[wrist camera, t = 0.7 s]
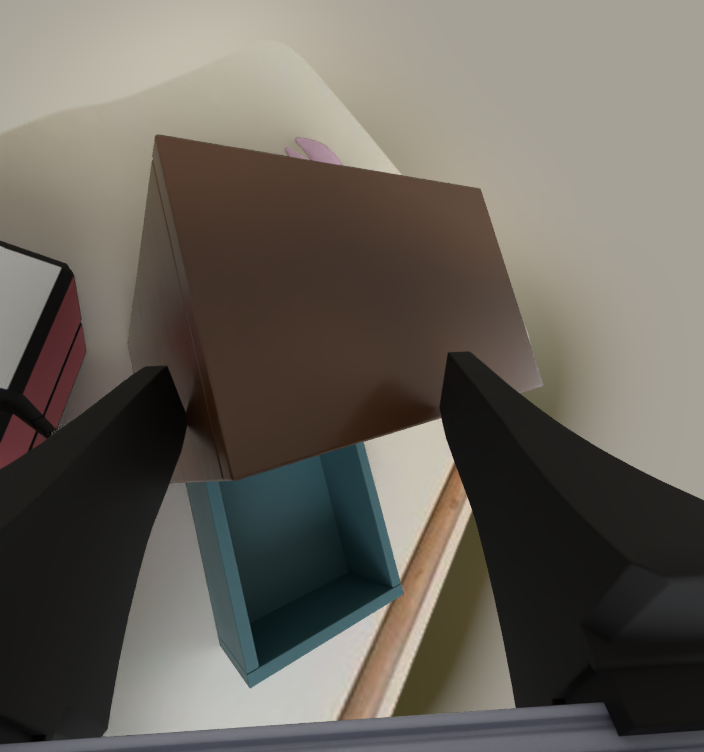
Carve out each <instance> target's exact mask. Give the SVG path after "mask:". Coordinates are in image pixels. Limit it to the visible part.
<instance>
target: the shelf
mask: <svg viewBox="0 0 704 752" xmlns="http://www.w3.org/2000/svg"><path fill="white" fill-rule="evenodd" d="M152 157H153V160H152V165H151V172H150V180H149V187H148V195H147V202H146V210H145V217H144V225H143V232H142V240H141V247H140V255H139V262H138V270H137V277H136V285H135V292H134V300H133V307H132V315H131V322H130V330H129V337H128V347H129V352H130V357H131V362H132V367H133V372H134V373H136V372H137V371H139V370H140V369H142V368H143V367H145V366H165V365H167V366H168V368H169V371H170V373H171V376H172V379H173V381H174V384H175V386H176V389H177V391H178V394H179V397H180V399H181V402H182V404H183V407H184V409H185V412H186V418H187V429H186V434H185V439H184V443H183V447H182V451H181V454H180V457H179V459H178V462H177V465H176V467H175V470H174V473H173V475H172V478H171V480H170V483H188V482H218V481H237V480H241V479H244V478H247V477H251V476H254V475H257V474H260V473H264V472H267V471H270V470H273V469H277V468H280V467H283V466H286V465H290V464H293V463H296V462H299V461H303V460H306V459H309V458H312V457H316V456H319V455H322V454H325V453H329V452H332V451H335V450H338V449H342V448H345V447H348V446H351V445H355V444H358V443H361V442H364V441H368V440H371V439H374V438H378V437H381V436H384V435H387V434H391V433H394V432H397V431H400V430H404V429H407V428H410V427H413V426H417V425H420V424H423V423H426V422H430V421H433V420H436V419H439V418H441V413H440V408H439V406H440V399H441V393H442V386H443V380H444V374H445V367H446V361H447V354H448V352H464V351H470V352H471V353H473V354H474V355H475V356H476V357H477V358H479V359H480V360H481V361H482V362H483V363H484V364H485V365H487V366H488V367H489V368H490V369H491V370H492V371H494V372H495V373H496V374H497V375H498V376H499V377H501V378H502V379H503V380H504V381H505V382H506V383H508V384H509V385H510V386H511V387H512V388H514V389H515V390H516V391H517V392H518V393H520V394H521V393H524V392H527V391H531V390H534V389H537V388H540V387H542V386H543V383H542V379H541V376H540V373H539V370H538V367H537V364H536V361H535V357H534V354H533V351H532V348H531V345H530V342H529V339H528V335H527V332H526V329H525V326H524V323H523V320H522V317H521V314H520V311H519V307H518V304H517V301H516V298H515V295H514V292H513V289H512V286H511V282H510V279H509V276H508V273H507V270H506V267H505V264H504V260H503V258H502V254H501V251H500V248H499V245H498V242H497V238H496V236H495V232H494V229H493V227H492V223H491V220H490V217H489V213H488V210H487V207H486V204H485V201H484V198H483V195H482V192H481V189H479V188H474V187H468V186H462V185H455V184H450V183H444V182H438V181H432V180H426V179H419V178H414V177H408V176H403V175H397V174H391V173H385V172H379V171H373V170H367V169H361V168H355V167H349V166H343V165H337V164H331V163H325V162H319V161H313V160H307V159H301V158H295V157H289V156H283V155H277V154H271V153H265V152H259V151H253V150H247V149H242V148H236V147H230V146H224V145H218V144H212V143H206V142H200V141H194V140H188V139H182V138H176V137H170V136H164V135H156V136H155V140H154V148H153V155H152Z"/></svg>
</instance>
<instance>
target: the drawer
mask: <svg viewBox="0 0 704 752" xmlns="http://www.w3.org/2000/svg"><path fill="white" fill-rule="evenodd" d="M186 486H187V490H188V495H189V500H190V505H191V509H192V514H193V519H194V524H195V528H196V533H197V538H198V543H199V547H200V552H201V557H202V562H203V566H204V571H205V576H206V581H207V585H208V590H209V595H210V600H211V604H212V609H213V614H214V619H215V623H216V628H217V633H218V638H219V642H220V646H221V648H222V649H223V650H224V652H225V653H226V655H227V656H228V658H229V659H230V661H231V662H232V663H233V665H234V666H235V668H236V669H237V671H238V672H239V673H240V675H241V676H242V678H243V679H244V681H245V682H246V684H247V685H248V686H249V688H252V687H253V686H255V685H256V684H258V683H260V682H261V681H263V680H265V679H266V678H268V677H269V676H271V675H273V674H274V673H276V672H278V671H279V670H281V669H282V668H284V667H286V666H287V665H289V664H291V663H292V662H294V661H295V660H297V659H299V658H300V657H302V656H304V655H305V654H307V653H308V652H310V651H312V650H313V649H315V648H317V647H318V646H320V645H321V644H323V643H325V642H326V641H328V640H330V639H331V638H333V637H334V636H336V635H338V634H339V633H341V632H343V631H344V630H346V629H347V628H349V627H351V626H352V625H354V624H356V623H357V622H359V621H360V620H362V619H364V618H365V617H367V616H369V615H370V614H372V613H373V612H375V611H377V610H378V609H380V608H382V607H383V606H385V605H387V604H388V603H390V602H391V601H393V600H395V599H396V598H398V597H400V596H401V595H403V589H402V586H401V583H400V579H399V575H398V571H397V567H396V564H395V560H394V556H393V552H392V548H391V545H390V541H389V537H388V533H387V529H386V526H385V522H384V518H383V514H382V510H381V507H380V503H379V499H378V495H377V491H376V488H375V484H374V480H373V476H372V472H371V469H370V465H369V461H368V457H367V453H366V450H365V446H364V442H361V443H358V444H355V445H351V446H348V447H345V448H342V449H338V450H335V451H332V452H329V453H325V454H322V455H319V456H316V457H312V458H309V459H306V460H303V461H299V462H296V463H293V464H290V465H286V466H283V467H280V468H277V469H273V470H270V471H267V472H264V473H260V474H257V475H254V476H251V477H247V478H244V479H241V480H237V481H218V482H188V483H186Z"/></svg>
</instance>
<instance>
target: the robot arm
mask: <svg viewBox="0 0 704 752" xmlns="http://www.w3.org/2000/svg"><path fill="white" fill-rule="evenodd" d="M439 408H440V413H441V418H442V423H443V427H444V431H445V436H446V439H447V442H448V445H449V448H450V451H451V453H452V456H453V459H454V462H455V464H456V467H457V470H458V473H459V475H460V478H461V481H462V483H463V486H464V489H465V492H466V494H467V497H468V500H469V502H470V505H471V508H472V511H473V514H474V517H475V521H476V524H477V528H478V532H479V536H480V539H481V543H482V547H483V551H484V555H485V560H486V564H487V568H488V572H489V577H490V581H491V585H492V589H493V594H494V598H495V603H496V608H497V612H498V617H499V622H500V626H501V631H502V636H503V641H504V646H505V651H506V657H507V662H508V667H509V672H510V678H511V683H512V688H513V695H514V700H515V706H516V708H513V709H499V710H485V711H471V712H456V713H442V714H429V715H428V714H427V715H413V716H400V717H385V718H370V719H356V720H342V721H327V722H313V723H299V724H285V725H270V726H256V727H242V728H228V729H213V730H199V731H185V732H171V733H156V734H142V735H128V736H114V737H101V736H102V735H103V734H104V733H105V731H106V730H107V729H108V723H109V716H110V710H111V704H112V698H113V692H114V687H115V681H116V675H117V670H118V664H119V659H120V654H121V649H122V644H123V640H124V635H125V630H126V625H127V620H128V616H129V612H130V607H131V603H132V599H133V595H134V591H135V587H136V583H137V578H138V575H139V571H140V567H141V564H142V560H143V556H144V552H145V549H146V545H147V542H148V539H149V536H150V533H151V530H152V527H153V524H154V521H155V519H156V516H157V514H158V511H159V509H160V506H161V503H162V501H163V498H164V496H165V493H166V491H167V488H168V486H169V483H170V480H171V478H172V475H173V473H174V470H175V467H176V465H177V462H178V459H179V457H180V454H181V451H182V447H183V443H184V439H185V434H186V429H187V418H186V412H185V409H184V407H183V404H182V402H181V399H180V397H179V394H178V391H177V389H176V386H175V384H174V381H173V379H172V376H171V373H170V371H169V368H168V366H167V365H165V366H145V367H143V368H142V369H140V370H139V371H137V372H136V373H134V374H133V375H132V376H130V377H129V378H128V379H126V380H125V381H124V382H122V383H121V384H120V385H119V386H117V387H116V388H115V389H113V390H112V391H111V392H110V393H108V394H107V395H106V396H104V397H103V398H102V399H101V400H99V401H98V402H97V403H95V404H94V405H93V406H91V407H90V408H89V409H88V410H86V411H85V412H84V413H82V414H81V415H80V416H78V417H77V418H76V419H74V420H73V421H71V422H70V423H69V424H67V425H66V426H64V427H63V428H62V429H60V430H59V431H57V432H56V433H55V434H53V435H52V436H50V437H49V438H48V439H46V440H45V441H43V442H42V443H41V444H39V445H38V446H36V447H35V448H33V449H32V450H30V451H29V452H27V453H25V454H24V455H22V456H21V457H19V458H18V459H16V460H14V461H13V462H11V463H9V464H8V465H6V466H5V467H3V468H1V469H0V752H704V500H702V499H700V498H698V497H695V496H693V495H691V494H689V493H687V492H684V491H682V490H680V489H678V488H675V487H673V486H671V485H669V484H667V483H665V482H663V481H661V480H658V479H656V478H654V477H652V476H650V475H648V474H646V473H644V472H642V471H640V470H638V469H636V468H635V467H633V466H631V465H629V464H627V463H625V462H623V461H621V460H620V459H618V458H616V457H614V456H612V455H610V454H608V453H607V452H605V451H603V450H602V449H600V448H598V447H596V446H595V445H593V444H591V443H590V442H588V441H587V440H585V439H583V438H582V437H580V436H579V435H577V434H575V433H574V432H572V431H571V430H569V429H567V428H566V427H564V426H563V425H562V424H560V423H559V422H557V421H556V420H554V419H553V418H552V417H550V416H549V415H547V414H546V413H545V412H543V411H542V410H541V409H539V408H538V407H536V406H535V405H534V404H532V403H531V402H530V401H529V400H527V399H526V398H524V397H523V396H522V395H521V394H520V393H518V392H517V391H516V390H515V389H514V388H512V387H511V386H510V385H509V384H508V383H506V382H505V381H504V380H503V379H502V378H501V377H499V376H498V375H497V374H496V373H495V372H494V371H492V370H491V369H490V368H489V367H488V366H487V365H485V364H484V363H483V362H482V361H481V360H480V359H479V358H477V357H476V356H475V355H474V354H473V353H471V352H470V351H464V352H448V354H447V361H446V367H445V374H444V380H443V386H442V393H441V399H440V406H439Z"/></svg>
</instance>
